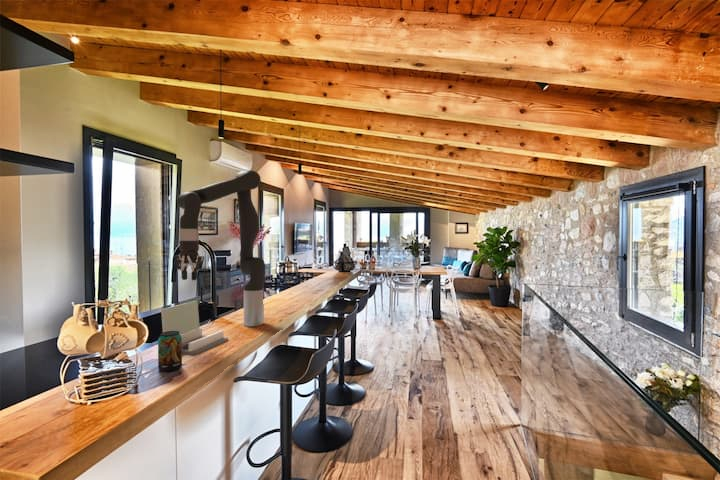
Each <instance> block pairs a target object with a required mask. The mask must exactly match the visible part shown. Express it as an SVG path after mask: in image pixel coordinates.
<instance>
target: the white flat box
mask: <svg viewBox="0 0 720 480" xmlns="http://www.w3.org/2000/svg"><path fill="white" fill-rule="evenodd" d="M181 337H182V355H190V356H195V355H198V354H201V353H203V352H205V351H207V350H209V349H212V348H214V347H216V346H219V345H221V344H223V343H226V342H227V341H229V337H224V330H219V331H217V332H214V333H211V334H209V335H203V328H199V329H196V330H194V331H191V332H188V333H185V334H182V335H181Z"/></svg>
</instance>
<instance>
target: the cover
mask: <svg viewBox="0 0 720 480" xmlns="http://www.w3.org/2000/svg"><path fill="white" fill-rule="evenodd" d="M160 311H161V313H160V314H161V326H162V333H163V332H167V331H179V332H180V333H179V334H180V335H183V334H186V333H189V332H191V331H194V330H197V329H201V328H200V327H201V326H200V316H199V305H198V300H193V301H190V302H189V301H188V302H185V303H180V304H177V305H172V306H169V307H165V308H160Z"/></svg>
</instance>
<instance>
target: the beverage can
mask: <svg viewBox="0 0 720 480" xmlns="http://www.w3.org/2000/svg"><path fill="white" fill-rule="evenodd" d="M179 333H180V332H179V331H167V332H163V331H162V332H161V333H160V335H159V337H158V339H157V357H158V358H157V359H158V360H157V362H158V363H157V364H158V365H157V367H158V368H157V369H158V370H160V372H162V373H169V372H170V373H171V372H174V371H178V370H180V368H181V367H182V366H183V361H182V360H183V359H182V358H183V357H182V356H183V354H182V337H181V335H180V334H179Z"/></svg>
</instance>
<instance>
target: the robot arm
mask: <svg viewBox="0 0 720 480" xmlns="http://www.w3.org/2000/svg"><path fill="white" fill-rule="evenodd" d="M261 180H262V179H261V176H260V174H259V172H257V171H255V170H254V169H253V170H252V169H251V170H250V169H247V170H242V171H238V172H237V174H236V176H235V178H232V179H231V178H230V179H228V180H224V181H219V182H215V183H213V184H208V185H205V186H203V187H200V188H198V189H197V188H196V189H193V190H190V191H185V192H183V193H181V194H179V195H178V197H177V199H176V204H177V206H178V207H179V208H181V209H183V214H181V216H180V218H179V236H178V237H179V243H178V244H179V247H178V248H179V251H180V253H179V254H178V255H174V261H175V265H176V266H175V267H176V269H177V270H179V271H181V279H182V280H183V281H187V280H188V267H190V269H191V281H197V279H198V271H201V270H202V268H203V265H204V261H205V256H204V255H203V256H201V255H200V254H199V250H200V249H199V248H200V244H199V243H200V241H199V240H200V238H199V235H200V234H199V216H200V213H201V207H202V204H208V203H211V202H212V203H213V202H215V201H217V200H219V199H220V200H221V199H222V198H225V197H228V196H229V195H233V194H236V196H237V197H236V198H237V204H238V222H239V237H240V239H239V240H240V242H239V244H240V252H239V253H240V254H239V268H240V272H241V273H242V275H244V276H250V277H249V281H248V282H246V283H244V284H243V326H245V327H259V326H262V325H264V322H265V320H264V319H265V312H264V311H265V310H264V307H265V304H264V285H265V283H266V282H265V280H266V263H265V261H264V259H263V258H261V257H258V256H255V257H254V245H255V242H256V239H257V238H258V235H259V232H260V220H259V215H258V211H257V210H256V207H255V205H254V204H253V200H252V190H255V189H257V188H258V187H259V186H260V185H261Z"/></svg>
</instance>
